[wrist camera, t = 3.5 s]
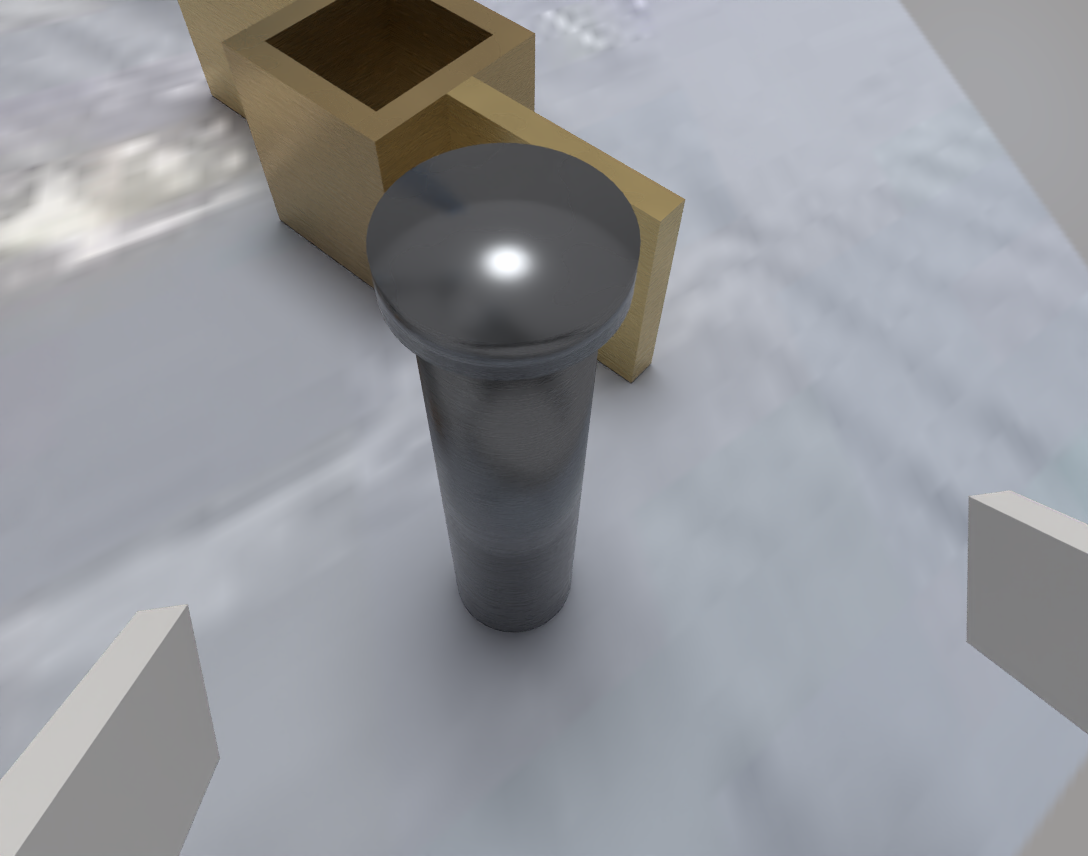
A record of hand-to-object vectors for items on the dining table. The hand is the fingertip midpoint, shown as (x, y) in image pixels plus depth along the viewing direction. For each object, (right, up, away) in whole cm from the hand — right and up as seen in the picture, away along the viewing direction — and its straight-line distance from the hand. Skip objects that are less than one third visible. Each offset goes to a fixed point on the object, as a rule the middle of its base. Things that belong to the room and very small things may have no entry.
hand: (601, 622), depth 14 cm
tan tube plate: (-7, +12, +21) cm, 25 cm away
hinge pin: (-2, -2, +13) cm, 13 cm away
